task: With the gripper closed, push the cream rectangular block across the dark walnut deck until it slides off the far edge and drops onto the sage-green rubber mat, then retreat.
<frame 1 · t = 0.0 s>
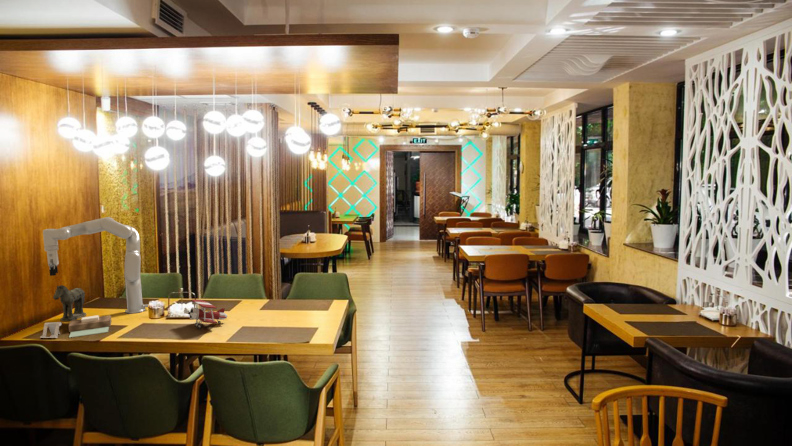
hand: (54, 274, 339), 31 cm above the table, fingers open, 9 cm apart
statue: (69, 320, 344), on the table
toy airplane: (208, 325, 321), on the table
cream rectangular block: (90, 320, 326), point 4 cm above the table, touching deck
portable electronic device stand: (52, 337, 307), on the table
mat: (89, 332, 314), on the table
deck: (91, 326, 327), on the table
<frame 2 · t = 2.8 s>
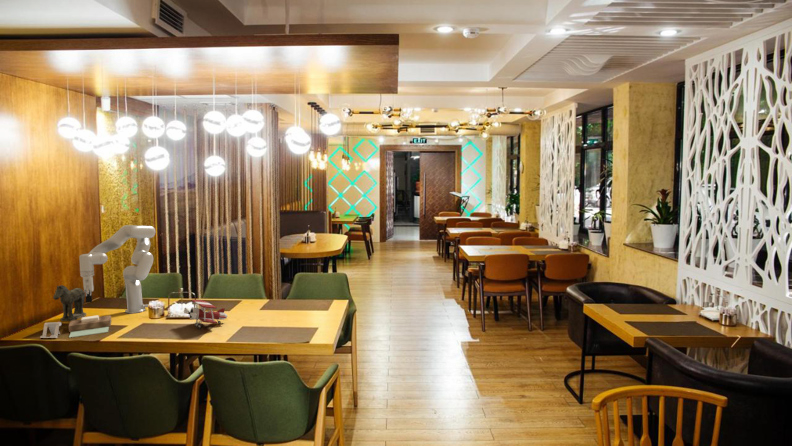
hand: (89, 302, 334), 14 cm above the table, fingers closed
nothing on the table moved.
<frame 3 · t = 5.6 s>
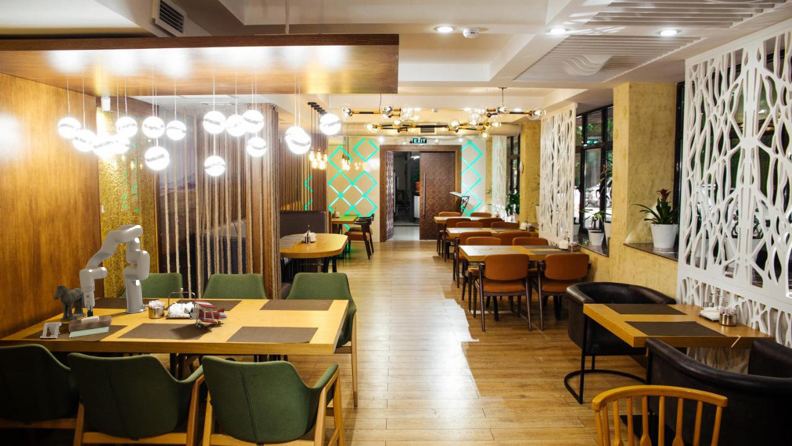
hand: (90, 317, 329), 5 cm above the table, fingers closed
cream rectangular block: (90, 321, 325), point 4 cm above the table, touching gripper
everything else where it was.
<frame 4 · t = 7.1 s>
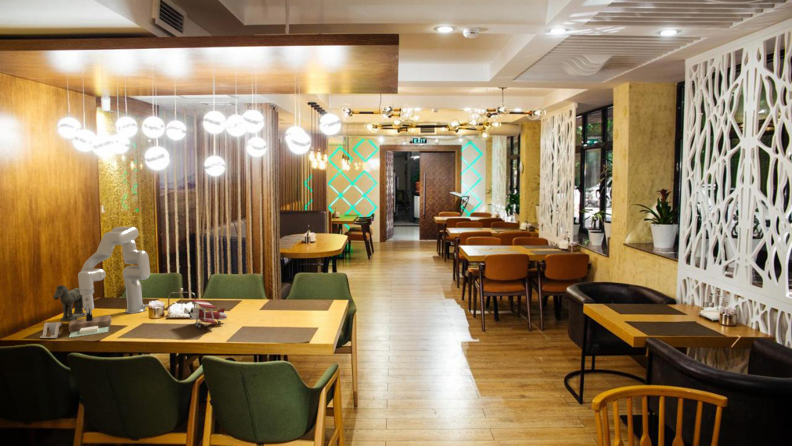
hand: (89, 320, 321), 5 cm above the table, fingers closed
cream rectangular block: (89, 328, 315), point 2 cm above the table, tilted 180°, touching mat
everything else where it was.
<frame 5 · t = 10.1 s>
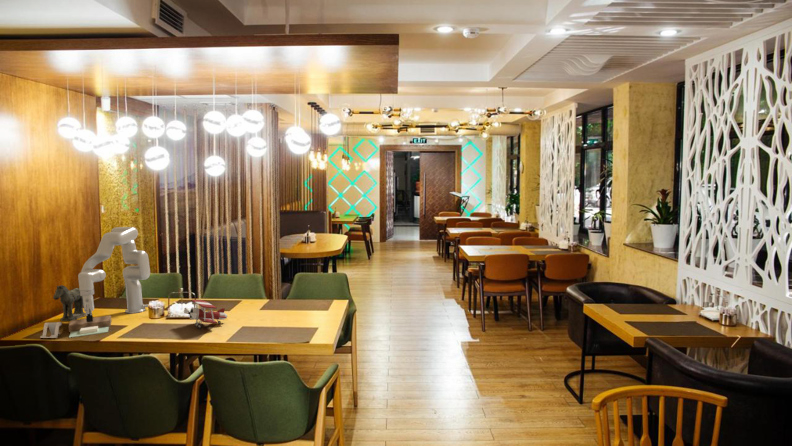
hand: (89, 321, 321), 5 cm above the table, fingers closed
nothing on the table moved.
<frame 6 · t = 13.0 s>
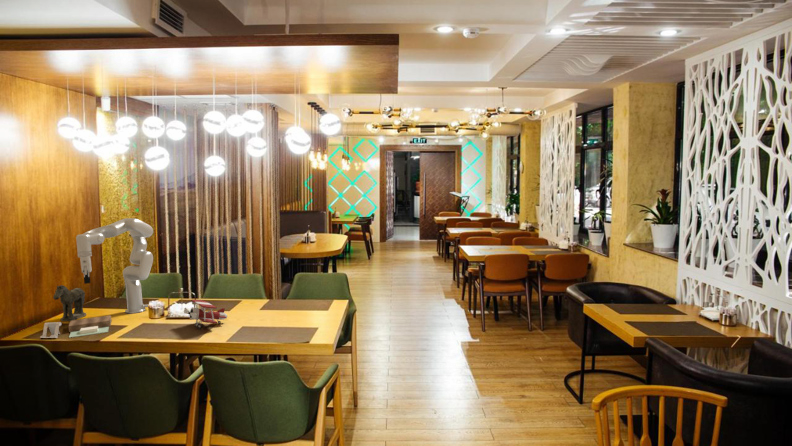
hand: (87, 283, 327), 27 cm above the table, fingers closed
nothing on the table moved.
at the end: cream rectangular block point 2.4 cm above the table; cream rectangular block inside the target area on the mat (0.4 cm from its centre), point 2.4 cm above the mat's base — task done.
